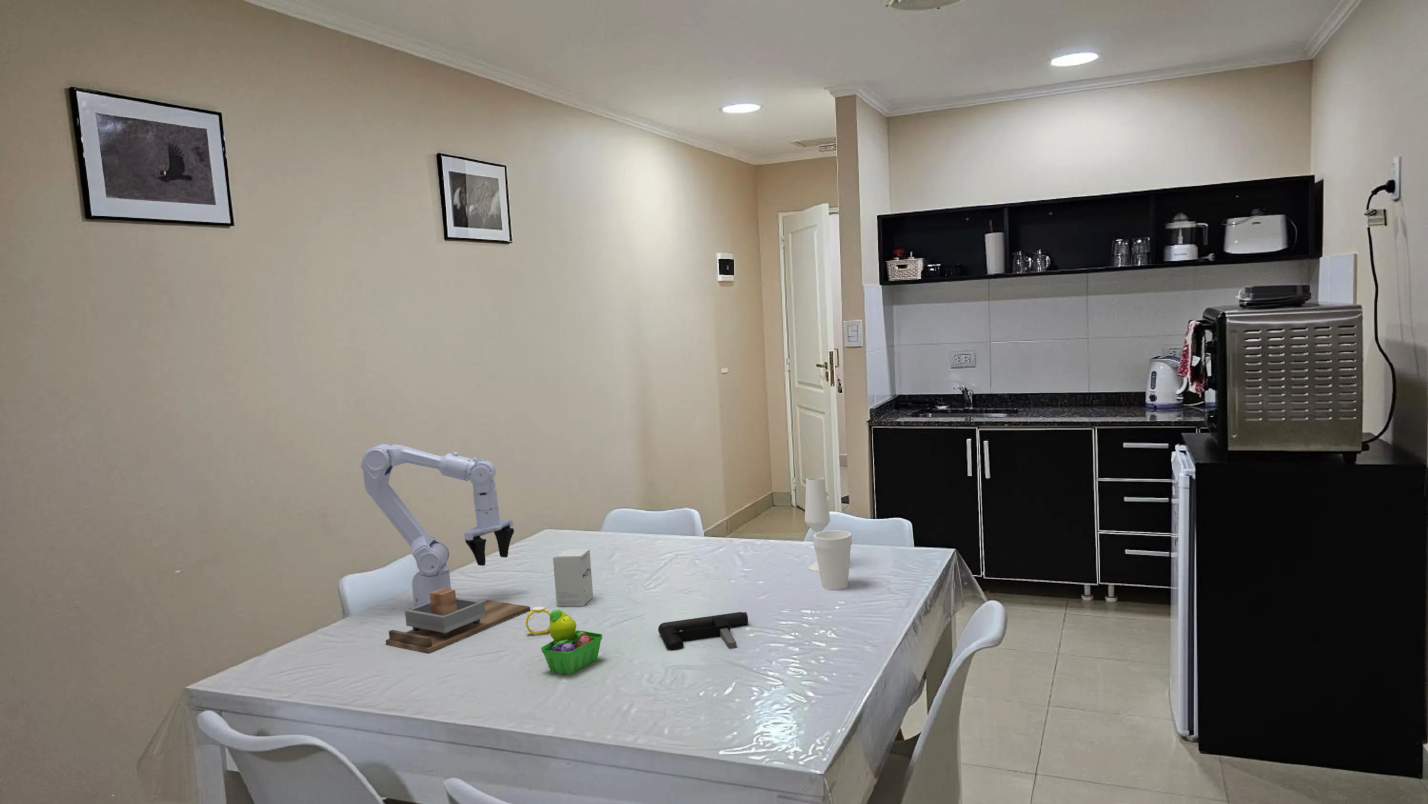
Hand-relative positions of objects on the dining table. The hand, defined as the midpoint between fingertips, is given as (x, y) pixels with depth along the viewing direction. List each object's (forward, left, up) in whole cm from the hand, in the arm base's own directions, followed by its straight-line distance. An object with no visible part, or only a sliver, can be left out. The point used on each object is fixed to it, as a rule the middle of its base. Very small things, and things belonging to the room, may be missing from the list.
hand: (492, 560), depth 237 cm
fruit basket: (+48, -26, -11) cm, 56 cm away
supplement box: (+20, +7, -11) cm, 24 cm away
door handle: (+66, -2, -11) cm, 67 cm away
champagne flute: (+64, +55, -11) cm, 85 cm away
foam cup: (+75, +41, -11) cm, 86 cm away
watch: (+28, -14, -11) cm, 33 cm away
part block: (+7, -22, -7) cm, 24 cm away
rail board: (+7, -18, -10) cm, 22 cm away
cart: (+7, -22, -9) cm, 25 cm away
